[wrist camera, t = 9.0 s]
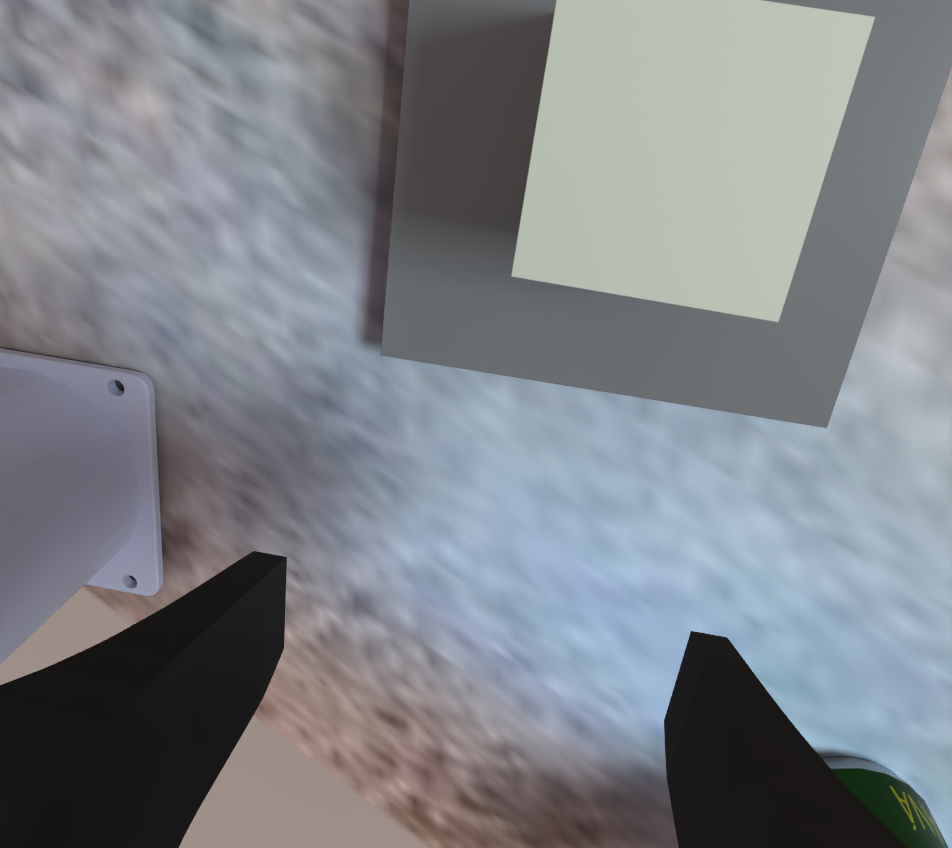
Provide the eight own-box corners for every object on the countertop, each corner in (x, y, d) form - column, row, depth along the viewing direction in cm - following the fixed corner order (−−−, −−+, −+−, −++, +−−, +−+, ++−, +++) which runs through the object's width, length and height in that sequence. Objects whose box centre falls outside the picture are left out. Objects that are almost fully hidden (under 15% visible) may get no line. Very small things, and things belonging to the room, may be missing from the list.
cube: (527, 236, 18) (511, 276, 14) (565, 11, 17) (561, -30, 12) (727, 270, 18) (778, 322, 14) (790, 45, 16) (874, 17, 12)
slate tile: (389, 344, 21) (380, 355, 20) (432, -171, 16) (424, -189, 15) (815, 413, 20) (826, 428, 19) (990, -107, 16) (1016, -122, 15)
